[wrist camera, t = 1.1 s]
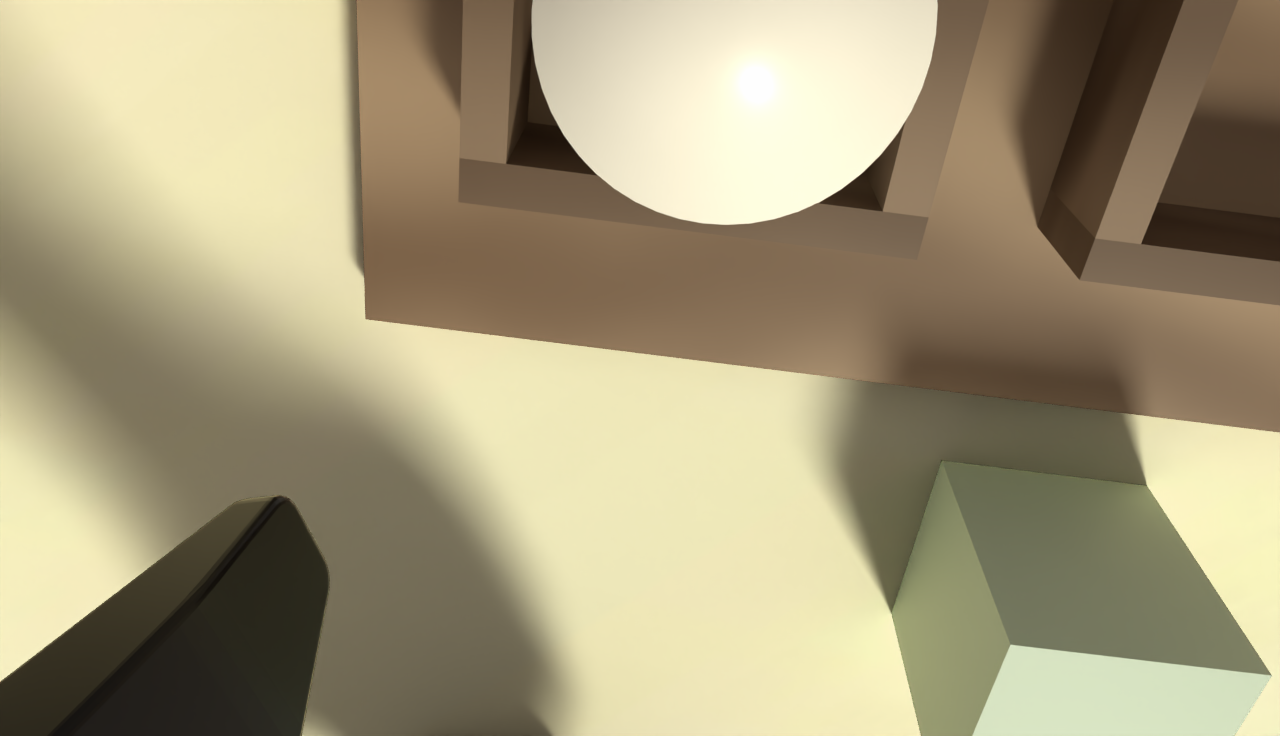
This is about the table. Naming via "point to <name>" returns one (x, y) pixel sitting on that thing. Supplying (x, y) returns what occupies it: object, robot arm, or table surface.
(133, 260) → the table surface
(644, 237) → the socket board
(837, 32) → the cream cylinder
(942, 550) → the sage block
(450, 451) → the table surface
